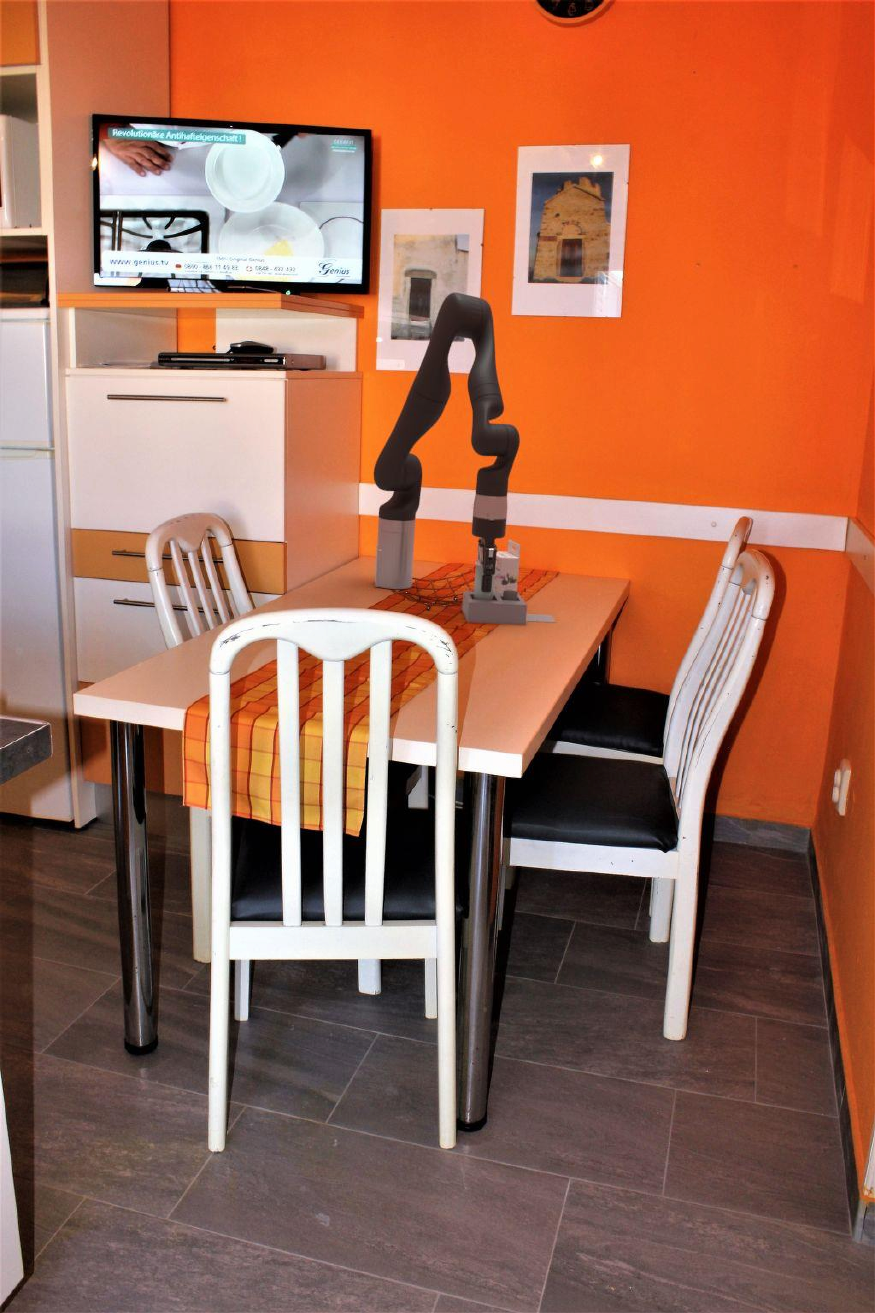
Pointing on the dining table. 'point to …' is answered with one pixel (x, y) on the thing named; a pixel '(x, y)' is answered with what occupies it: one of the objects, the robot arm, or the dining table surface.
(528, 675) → the dining table surface
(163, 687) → the dining table surface
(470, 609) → the housing
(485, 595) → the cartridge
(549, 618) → the mat
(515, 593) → the plunger
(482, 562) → the robot arm
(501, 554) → the ink box
